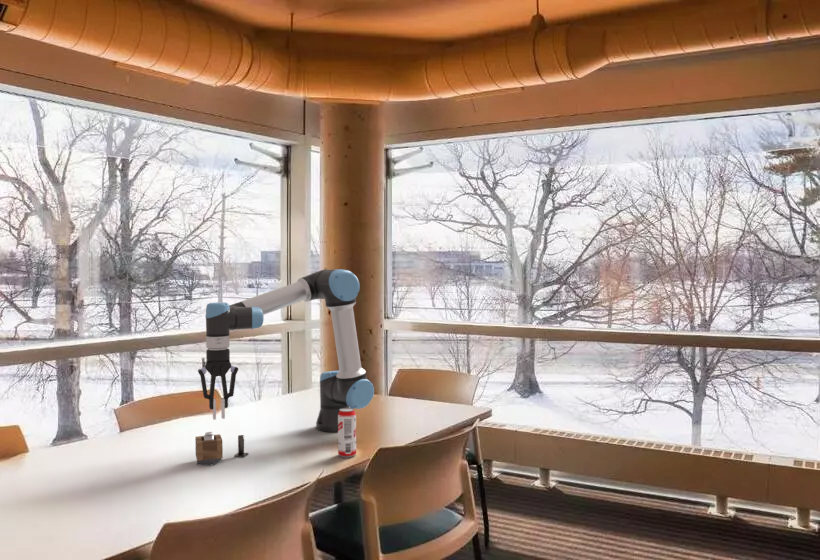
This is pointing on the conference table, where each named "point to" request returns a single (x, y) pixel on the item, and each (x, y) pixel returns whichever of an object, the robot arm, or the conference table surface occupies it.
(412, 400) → the conference table surface
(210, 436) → the hub
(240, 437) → the stand
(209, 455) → the brown box
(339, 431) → the beer can
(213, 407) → the robot arm
